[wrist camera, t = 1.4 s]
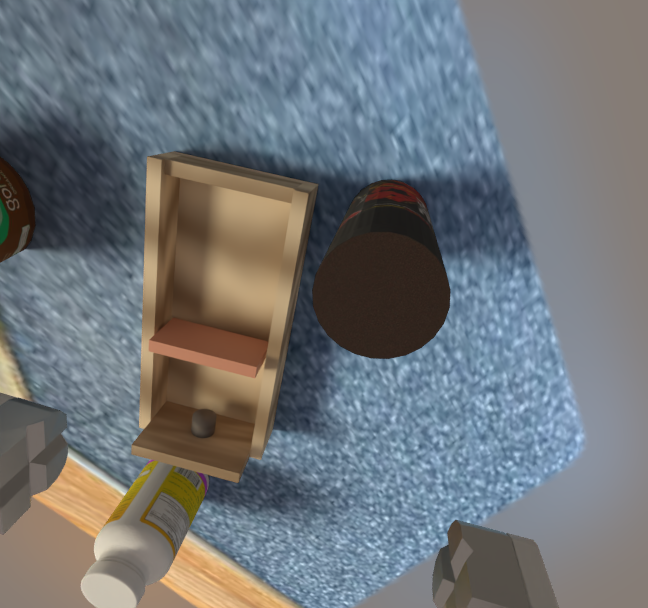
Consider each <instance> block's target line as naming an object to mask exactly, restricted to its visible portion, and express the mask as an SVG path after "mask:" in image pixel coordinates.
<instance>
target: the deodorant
mask: <svg viewBox="0 0 648 608" xmlns="http://www.w3.org/2000/svg"><path fill="white" fill-rule="evenodd" d="M312 294H313V307H314V310H315V313H316V316H317V319H318V321H319V323H320V325H321V326H322V327H323V329H324V330H325V332H326V333H327V335H328V336H329V337H330V338H331V339H333V340H334V341H335V342H336V343H337V344H338V345H339V346H341V347H343V348H345V349H346V350H348V351H350V352H352V353H354V354H357V355H361V356H365V357H369V358H379V359H390V358H395V357H399V356H404V355H407V354H409V353H411V352H414V351H416V350H418V349H420V348H422V347H423V346H424V345H425V344H426V343H428V342H429V341H430V340H431V339H433V338H434V337H435V335H436V334H437V332H438V331H439V330H440V328H441V327H442V325H443V324H444V322H445V319H446V316H447V313H448V311H449V308H450V287H449V282H448V278H447V274H446V270H445V267H444V264H443V260H442V257H441V253H440V250H439V247H438V243H437V240H436V236H435V233H434V230H433V226H432V223H431V219H430V216H429V213H428V209H427V206H426V203H425V202H424V200H423V198H422V196H421V195H420V194H419V193H418V192H417V191H416V190H415V189H414V188H413V187H411V186H409V185H408V184H406V183H404V182H400V181H396V180H381V181H378V182H375V183H372V184H370V185H368V186H367V187H365V188H364V189H362V190H361V191H360V192H359V193H358V194H357V195H356V197H355V198H354V200H353V202H352V203H351V205H350V207H349V209H348V211H347V213H346V215H345V217H344V219H343V221H342V223H341V225H340V227H339V229H338V231H337V233H336V235H335V237H334V239H333V241H332V243H331V245H330V247H329V249H328V251H327V253H326V255H325V257H324V259H323V261H322V263H321V265H320V267H319V269H318V271H317V273H316V275H315V280H314V285H313V289H312Z"/></svg>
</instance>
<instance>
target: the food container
mask: <svg viewBox="0 0 648 608" xmlns="http://www.w3.org/2000/svg"><path fill="white" fill-rule="evenodd" d="M35 225H36V224H35V208H34V205H33V202H32V199H31V196H30V193H29V190H28V188H27V186H26V185H25V183H24V182H23V180H22V178H21V177H20V175H19V174H18V173H17V172H16V171H15V169H14V168H13V167H12V166H11V165H10V164H9V163H8V162H6V161H5V160H4V159H3V158H1V157H0V262H2V261H4V260H6V259H8V258H10V257H11V256H13V255H15V254H17V253H19V252H21V251H23V250H24V249H26V247H27V246H28V244H29V243H30V242H31V240H32V236H33V233H34V229H35Z"/></svg>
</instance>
